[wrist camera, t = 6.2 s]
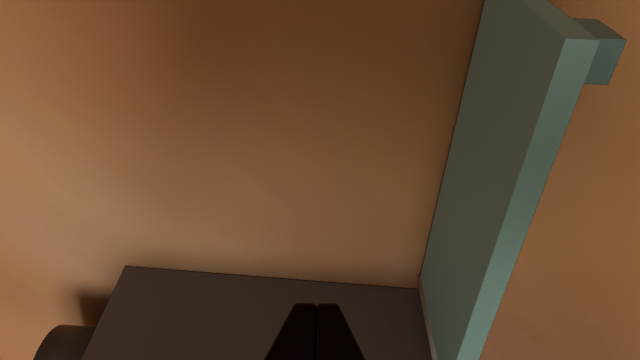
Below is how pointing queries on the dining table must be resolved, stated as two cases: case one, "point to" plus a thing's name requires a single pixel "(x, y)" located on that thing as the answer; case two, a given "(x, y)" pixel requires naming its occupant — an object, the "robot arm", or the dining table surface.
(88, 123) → the dining table surface
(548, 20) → the grey-green bar
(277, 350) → the robot arm
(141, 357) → the large grey box
